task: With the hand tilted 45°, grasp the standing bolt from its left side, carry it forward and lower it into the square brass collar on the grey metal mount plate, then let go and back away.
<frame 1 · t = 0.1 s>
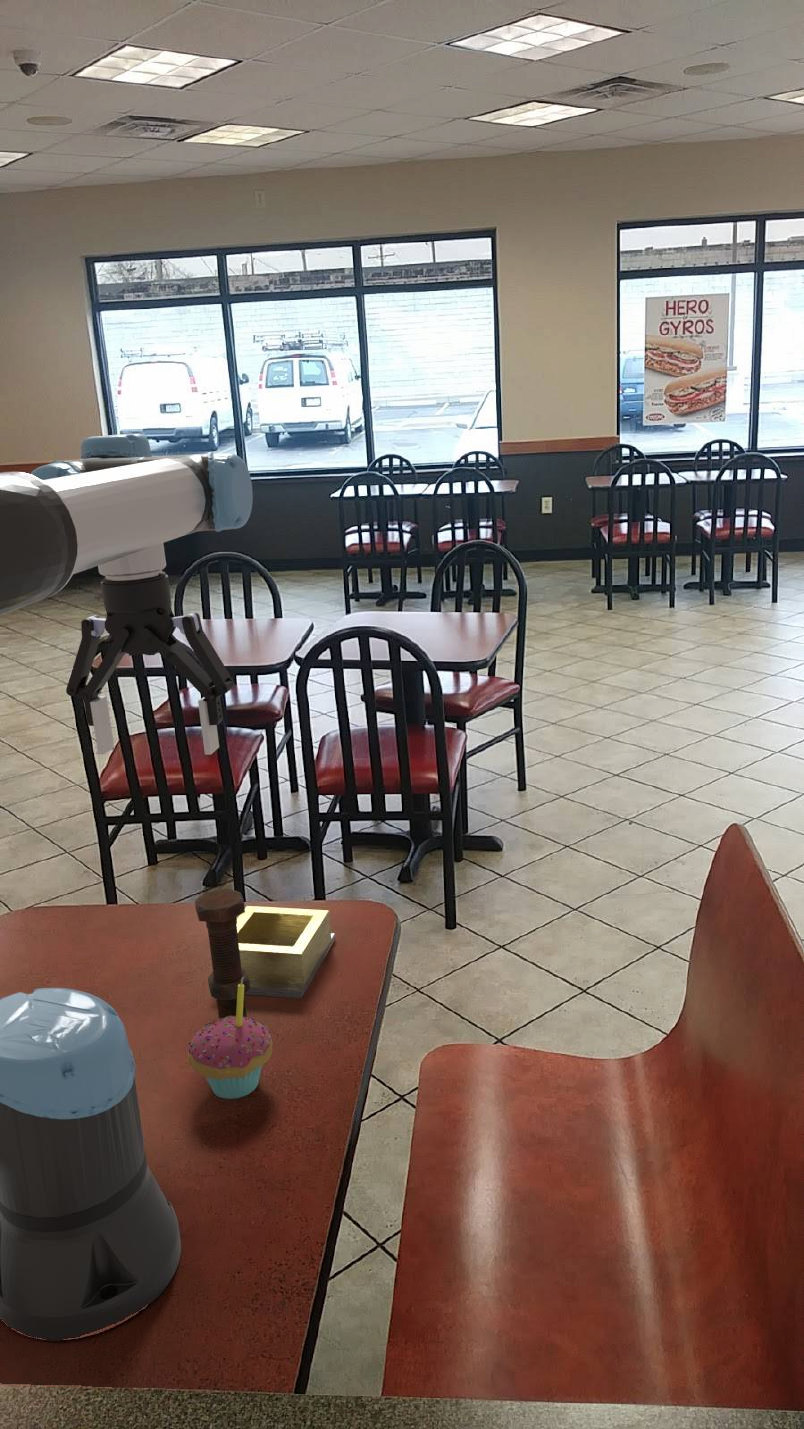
hand: (158, 751, 132), 28 cm above the table, tool pointing down, fingers open, 13 cm apart
cupcake: (235, 1087, 114), on the table
bolt: (233, 1019, 126), on the table
mount: (276, 965, 137), on the table
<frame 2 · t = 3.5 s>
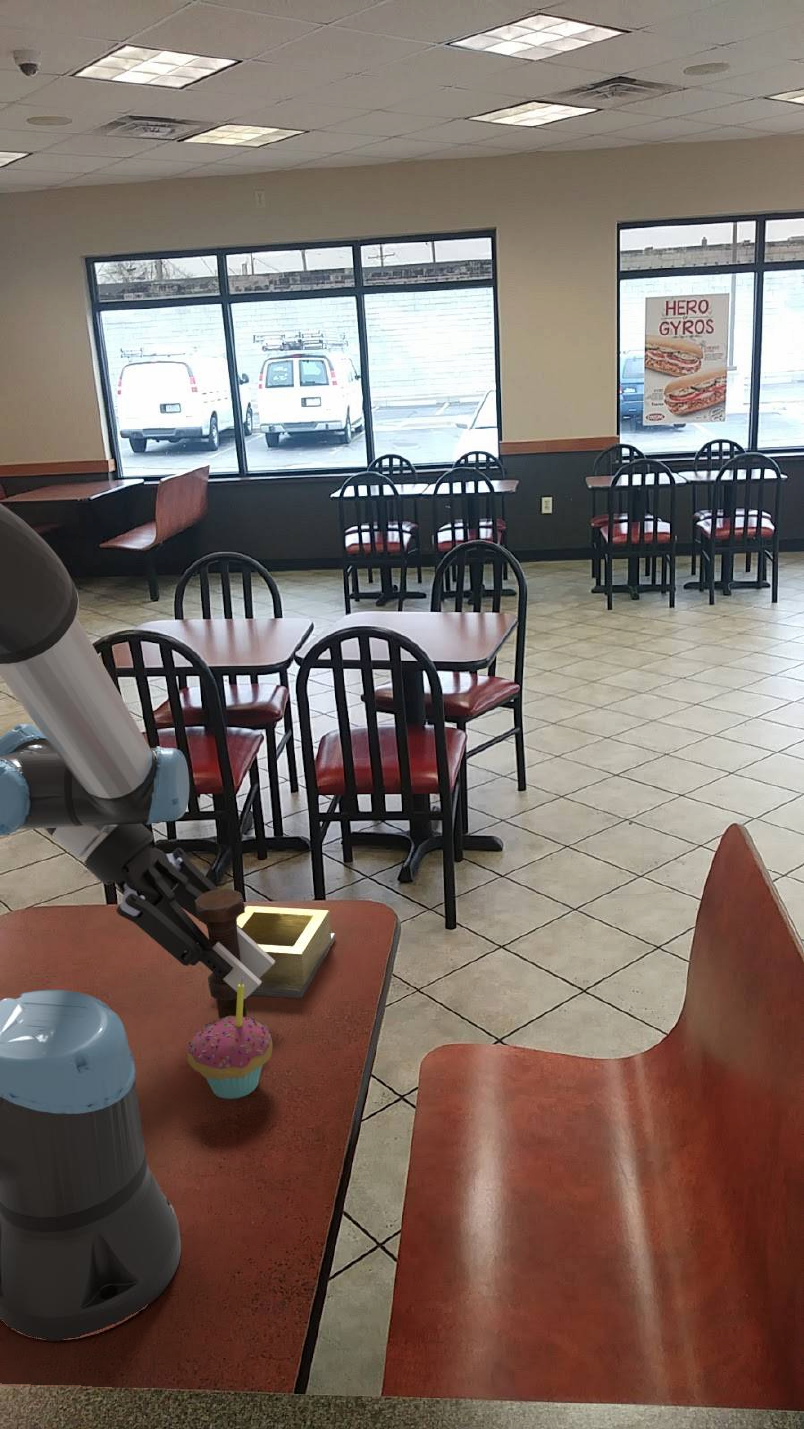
hand: (260, 979, 123), 5 cm above the table, tool tilted 45°, fingers open, 4 cm apart
bolt: (233, 1019, 126), on the table, touching gripper
everything else where it was.
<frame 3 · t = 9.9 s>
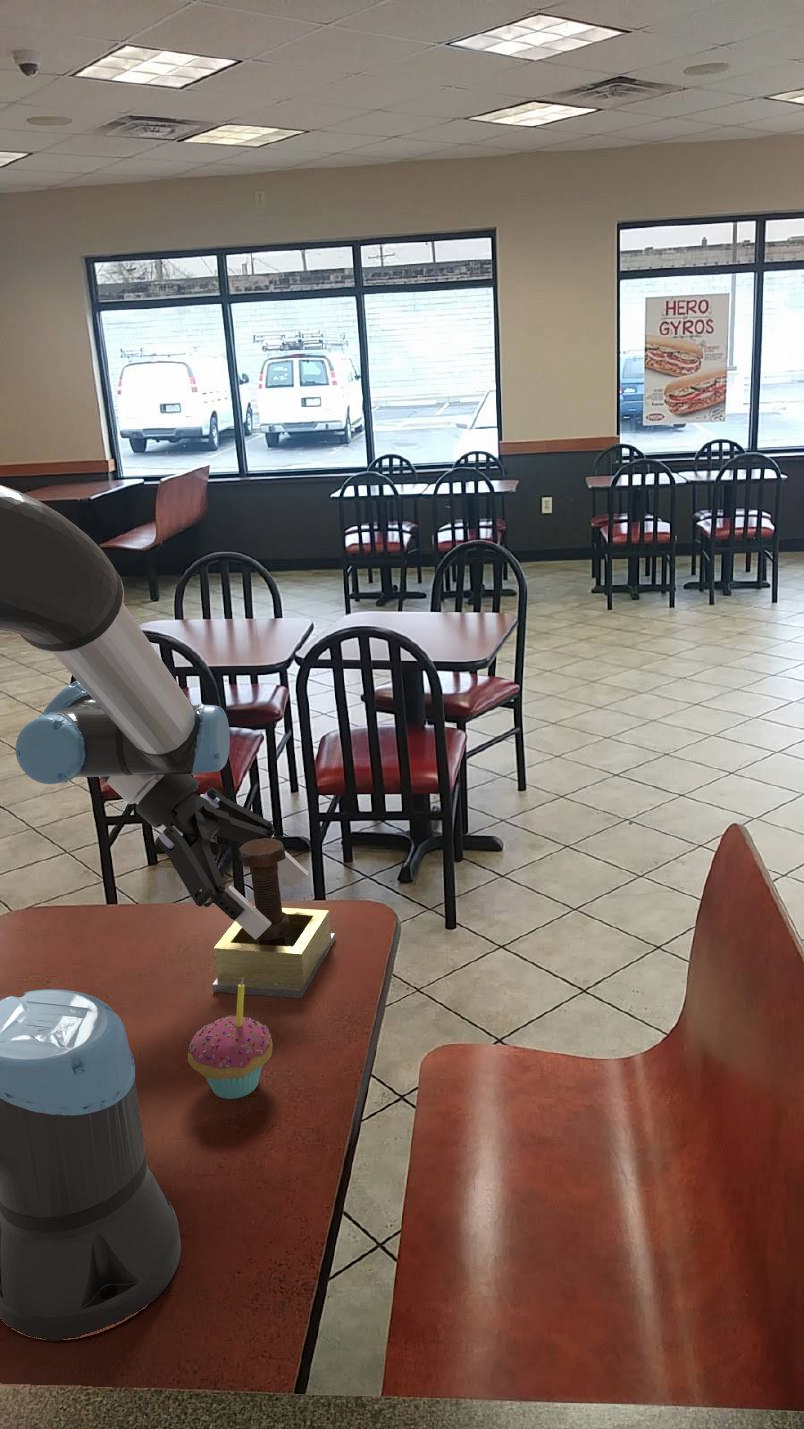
hand: (283, 905, 134), 8 cm above the table, tool tilted 45°, fingers open, 13 cm apart
bolt: (274, 959, 136), point 1 cm above the table, touching mount
everything else where it was.
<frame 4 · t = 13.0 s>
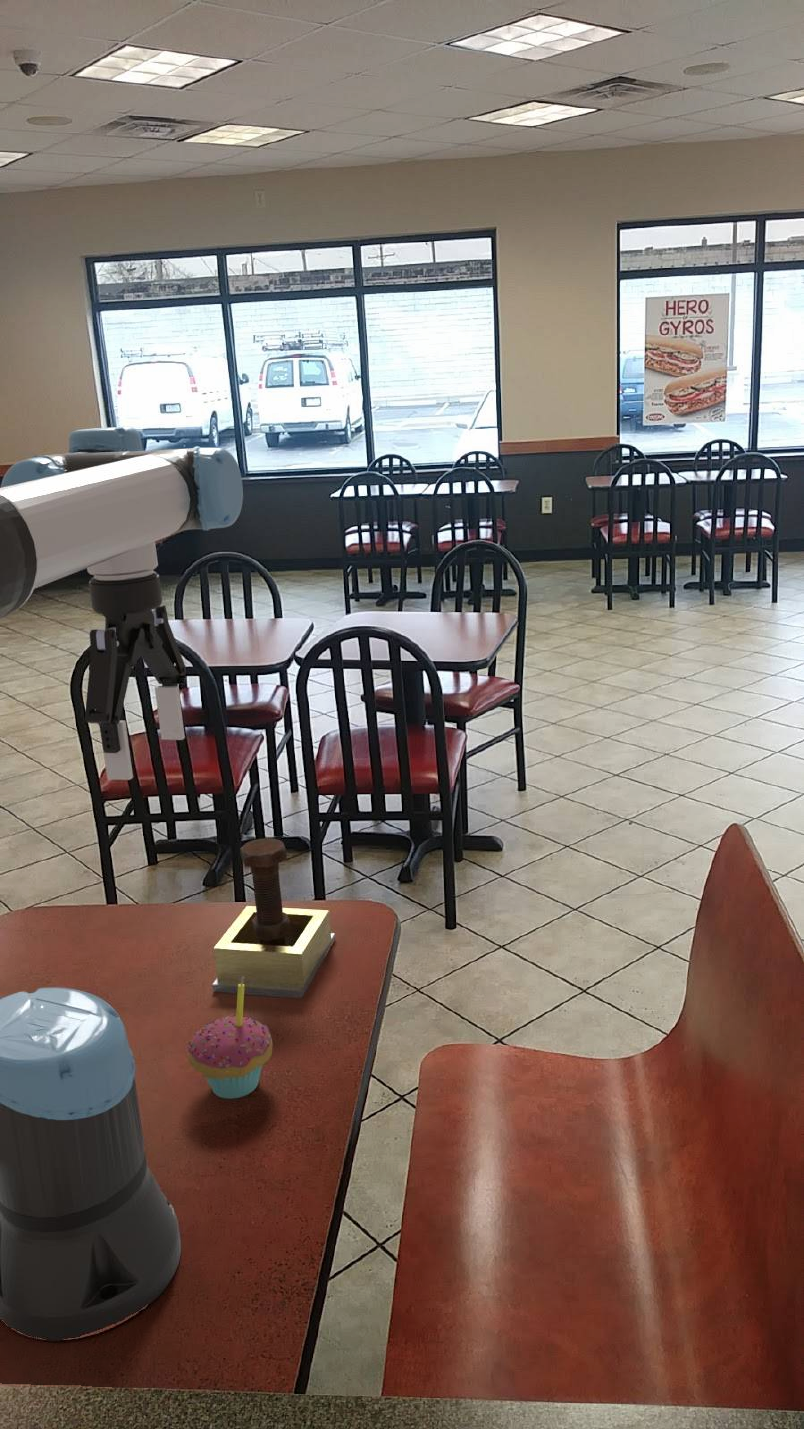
hand: (148, 757, 126), 29 cm above the table, tool pointing down, fingers open, 13 cm apart
nothing on the table moved.
at the end: bolt 0.2 cm off-centre on the mount, point 0.8 cm above the mount's base; bolt tilted 0°; the gripper is holding nothing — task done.
